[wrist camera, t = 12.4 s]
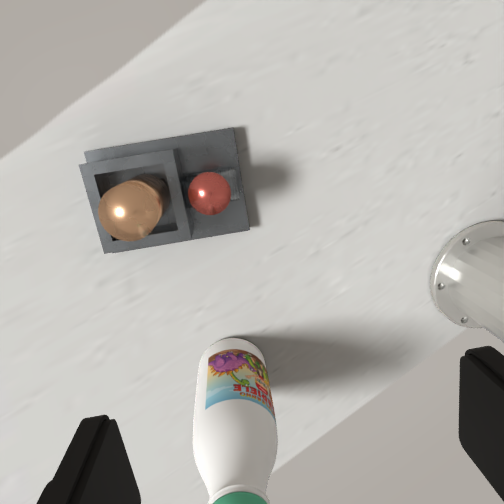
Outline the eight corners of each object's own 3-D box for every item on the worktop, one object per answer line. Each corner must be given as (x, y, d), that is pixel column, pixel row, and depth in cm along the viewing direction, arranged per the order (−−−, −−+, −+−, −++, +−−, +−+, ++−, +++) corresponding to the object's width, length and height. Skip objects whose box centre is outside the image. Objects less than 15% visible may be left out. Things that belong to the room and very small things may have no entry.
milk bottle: (243, 401, 46) (259, 590, 27) (187, 376, 44) (160, 559, 25) (277, 352, 44) (318, 517, 25) (219, 324, 43) (217, 478, 24)
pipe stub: (164, 170, 36) (149, 180, 28) (174, 215, 37) (162, 236, 30) (118, 178, 36) (90, 190, 28) (130, 222, 37) (106, 245, 30)
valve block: (232, 127, 37) (234, 126, 30) (248, 227, 40) (253, 244, 33) (88, 151, 36) (61, 154, 30) (115, 249, 39) (96, 271, 33)
